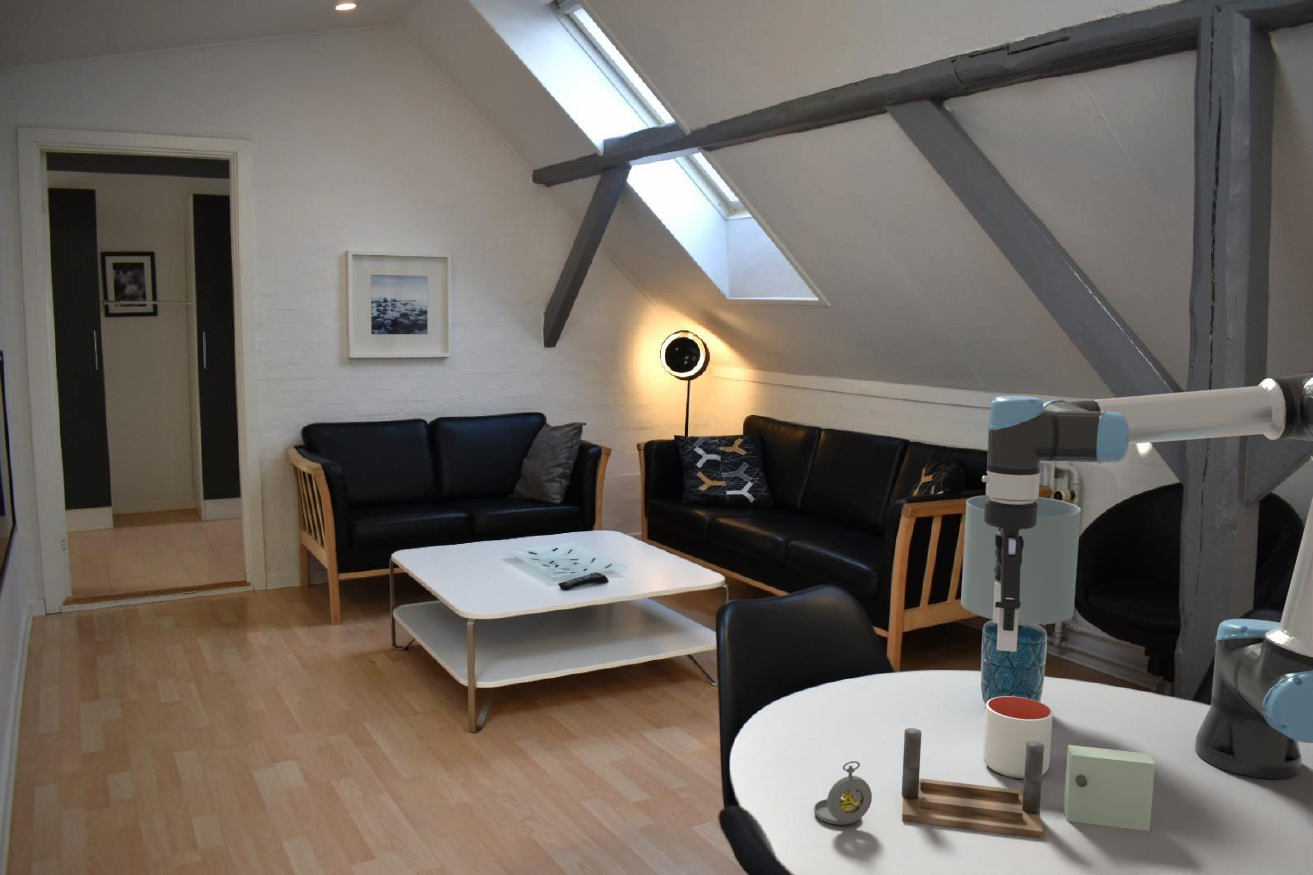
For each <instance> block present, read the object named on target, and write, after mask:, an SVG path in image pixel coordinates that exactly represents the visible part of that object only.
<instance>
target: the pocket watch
mask: <svg viewBox="0 0 1313 875" xmlns="http://www.w3.org/2000/svg"><path fill="white" fill-rule="evenodd" d="M853 763H854V764H857V766H856V767H853V766H852V765H849V764H853ZM860 764H861V763H860V762H858V761H856V760H855V761H854V760H853V761H848V762H846V763H844V765H843V766H842V770H843V771H846V772H847V774H848V776H844V777H842V778H840V779H839V780H838V781H836V782H835V783H834V784H833V785H832V787H831V788H830V789H829V792H828V795H827V798H826V799H822V800H819V801H817V802H816V803H815V804H814V806H813V813H814V814H815V816H816V817H817V818H818V819H820V820H821V821H822V822H823V821H824V822H826V823H828V824H831V825H837V826H838V825H841V826H842V825H850V824H854V823H855V822H857V821H859V820H860V819H862V818H863V817H864V816H865V815H866V813H868V810H869V809H870V808H871V804H872V799H873V793H872V790H871V787H870V786H869V783H867V781H866V779H863V778H862V777H861V776H857V775H853V773H855V771H856V770H857V769H858V768H859V767H860V766H861V765H860ZM847 765H849V766H848V768H845V767H847Z"/></svg>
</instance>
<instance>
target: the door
mask: <svg viewBox="0 0 1313 875" xmlns="http://www.w3.org/2000/svg"><path fill="white" fill-rule="evenodd" d="M1066 754H1067V756H1066V770H1065V782H1064V783H1065V785H1064V798H1063V799H1064V800H1063V813H1064V815H1065V819H1066V821H1067V822H1073V823H1080V824H1081V823H1082V824H1090V825H1097V826H1098V825H1099V826H1107V827H1113V828H1114V827H1115V828H1123V829H1131V830H1139V831H1145V832H1146V831H1147V832H1150V828H1151V818H1152V817H1151V815H1152V803H1153V793H1154V791H1153V790H1154V781H1155V780H1154V779H1155V769H1156V763H1155V761H1154V759H1153V757H1152V755H1151V753H1149V752H1138V751H1128V750H1119V749H1110V748H1100V747H1091V746H1081V745H1072V744H1067V753H1066Z"/></svg>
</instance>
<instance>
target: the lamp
mask: <svg viewBox="0 0 1313 875" xmlns="http://www.w3.org/2000/svg"><path fill="white" fill-rule="evenodd" d="M988 498H990V497H988V496H987V495H986V494H985V495H977V496H972V497H970V498H968V499H967V500H966V503H965V504H966V506H965V519H964V520H965V521H964V538H963V539H964V540H963V541H964V542H963V543H964V544H963V556H962V557H963V559H962V560H963V561H962V578H961V579H962V580H961V592H960V594H961V596H960V597H961V598H960V605H961V606H962V608H963V609H965V610H966V611H968V612H970V613H971V614H974V615H976V616H979V617H982V618H986V619H989V620H988V621H987V622H985V623H984V625H983V627H982V640H981V658H980V660H981V662H980V689H981V690H980V692H981V698H982V700H983V702H984V705H986V703H987V702H988V701H989V700H990V699H992V698H996V697H1002V696H1014V697H1023V698H1028V699H1032V700H1035V701H1038V702H1041V701H1042V695H1043V690H1044V689H1043V688H1044V682H1045V681H1044V680H1045V672H1046V661H1047V646H1048V632H1047V630H1046V629H1045V628H1044V627H1043V626H1041V625H1052V624H1059V623H1064V622H1066V621H1069V620H1071V619H1073V617H1074V614H1075V613H1074V610H1075V599H1076V597H1075V596H1076V583H1077V582H1076V581H1077V570H1078V569H1077V568H1078V555H1079V554H1078V553H1079V540H1080V525H1081V511H1082V510H1081V509H1082V508H1080V507H1079V506H1078V505H1076V504H1073V503H1071V502H1067V501H1064V500H1060V499H1053V498H1049V497H1048V498H1047V497H1041V496H1039V497H1038V498H1037V499H1036V500H1034V501H1035V502H1036V504H1038V507H1037V523H1036V525H1035V526H1034V527H1033V528H1029V529H1020V530H1019V536H1022V540H1024V548H1023V551H1022V564H1021V567H1020V603H1021V605H1020V607H1019V613H1018V631H1017V649H1016V652H1013V651H1002V650H997V634H998V623H993V610H994V590H995V582H999V581H997V580H996V579H995V571H994V570H995V568H996V554H995V548H996V546H995V534H996V535H998V531H999V528H998V527H993V526H990V525H988V524H986V523H985V521H984V512H985V501H986V500H987V499H988ZM1012 599H1013V598H1012ZM1013 600H1014V599H1013Z"/></svg>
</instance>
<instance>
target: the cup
mask: <svg viewBox="0 0 1313 875" xmlns="http://www.w3.org/2000/svg"><path fill="white" fill-rule="evenodd" d="M1053 716H1054V713H1053V710H1052V708H1051V707H1049V706H1048V705H1046V704H1045V703H1043V702H1041V701H1040V702H1038V701H1035V700H1032V699H1028V698H1023V697H1014V696H1002V697H996V698H992V699H990V700H989V701H988V702H987V703H986V704H985V717H984V720H985V721H984V736H983V751H982V752H983V753H982V754H983V755H982V756H983V761H984V763H985V764H986V766H987V767H988V768H990V769H991V770H992V771H994V772H996V773H998V774H1000V775H1002V776H1006V777H1009V778H1015V779H1023V780H1024V771H1025V756H1026V743H1027V742H1028V741H1037V742H1040V743H1042V744H1043V745H1044V754H1043V769H1042V776H1043V775H1044V774H1046V773H1047V771H1048V770H1049V768H1050V760H1051V744H1052V732H1053V731H1052V730H1053Z"/></svg>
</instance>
